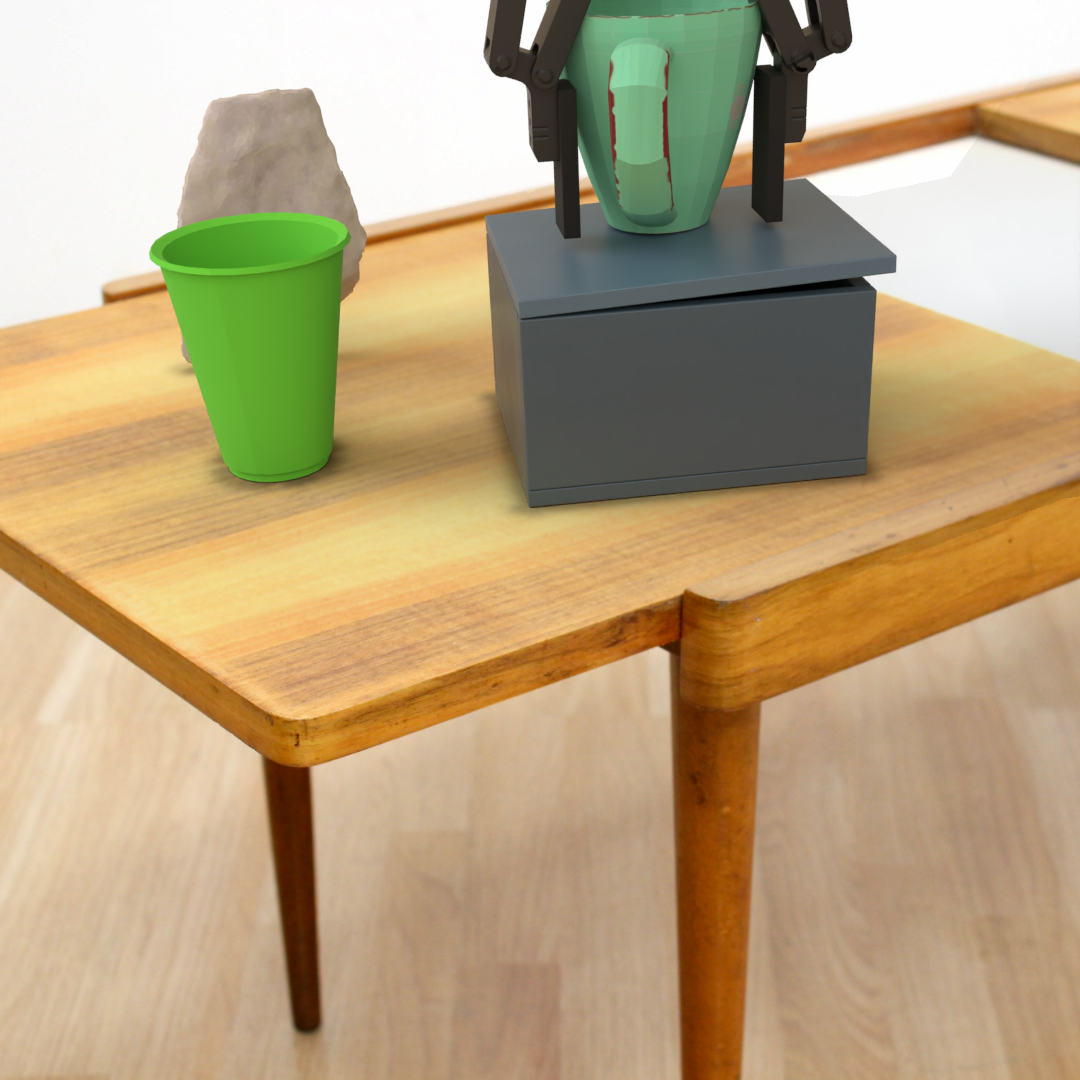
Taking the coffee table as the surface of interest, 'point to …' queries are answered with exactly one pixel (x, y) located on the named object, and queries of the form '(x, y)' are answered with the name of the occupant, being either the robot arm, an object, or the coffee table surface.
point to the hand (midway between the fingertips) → (668, 221)
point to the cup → (261, 333)
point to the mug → (662, 105)
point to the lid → (681, 253)
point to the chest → (685, 390)
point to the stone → (270, 168)
